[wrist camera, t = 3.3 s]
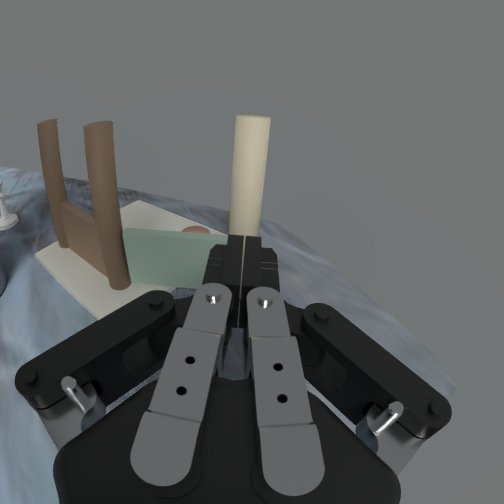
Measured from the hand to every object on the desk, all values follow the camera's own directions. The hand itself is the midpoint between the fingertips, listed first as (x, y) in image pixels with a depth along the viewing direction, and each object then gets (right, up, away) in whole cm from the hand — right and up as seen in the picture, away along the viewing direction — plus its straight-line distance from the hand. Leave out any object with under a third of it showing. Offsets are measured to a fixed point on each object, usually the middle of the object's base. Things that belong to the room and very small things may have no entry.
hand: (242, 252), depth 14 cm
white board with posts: (-16, 0, +22) cm, 27 cm away
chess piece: (-43, +5, +26) cm, 51 cm away
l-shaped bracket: (-6, -3, +16) cm, 18 cm away
